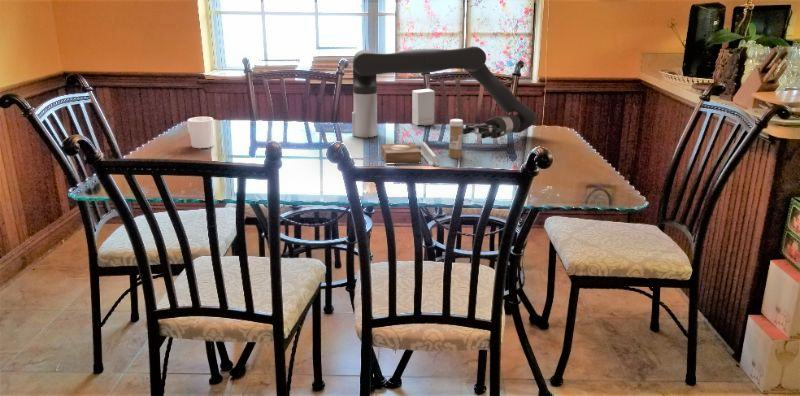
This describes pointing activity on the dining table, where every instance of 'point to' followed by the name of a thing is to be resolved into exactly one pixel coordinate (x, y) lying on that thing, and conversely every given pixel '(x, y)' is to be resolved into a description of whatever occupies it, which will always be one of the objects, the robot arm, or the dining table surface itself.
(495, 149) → the dining table surface
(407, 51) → the robot arm
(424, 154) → the divider
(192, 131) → the mug
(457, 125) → the sprinkles bottle
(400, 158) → the walnut block
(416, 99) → the skincare box
